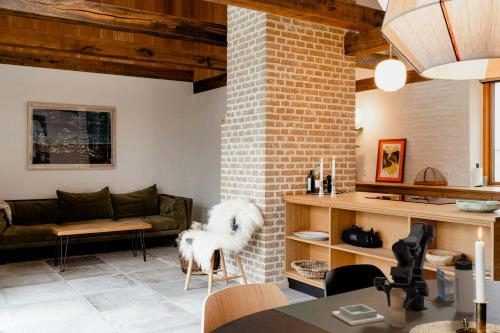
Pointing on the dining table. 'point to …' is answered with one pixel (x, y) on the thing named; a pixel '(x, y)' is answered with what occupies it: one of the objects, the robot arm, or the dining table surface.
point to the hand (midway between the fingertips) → (396, 307)
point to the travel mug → (464, 287)
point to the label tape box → (444, 287)
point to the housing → (358, 314)
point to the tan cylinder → (397, 308)
